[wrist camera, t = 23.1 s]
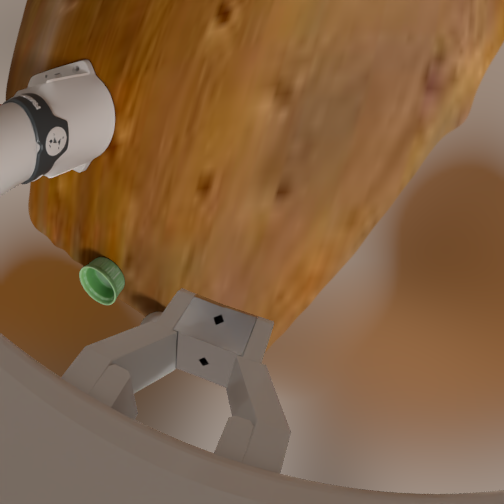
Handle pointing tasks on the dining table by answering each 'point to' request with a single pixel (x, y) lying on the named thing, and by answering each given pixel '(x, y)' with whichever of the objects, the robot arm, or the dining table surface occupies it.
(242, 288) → the dining table surface
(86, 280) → the ramekin
